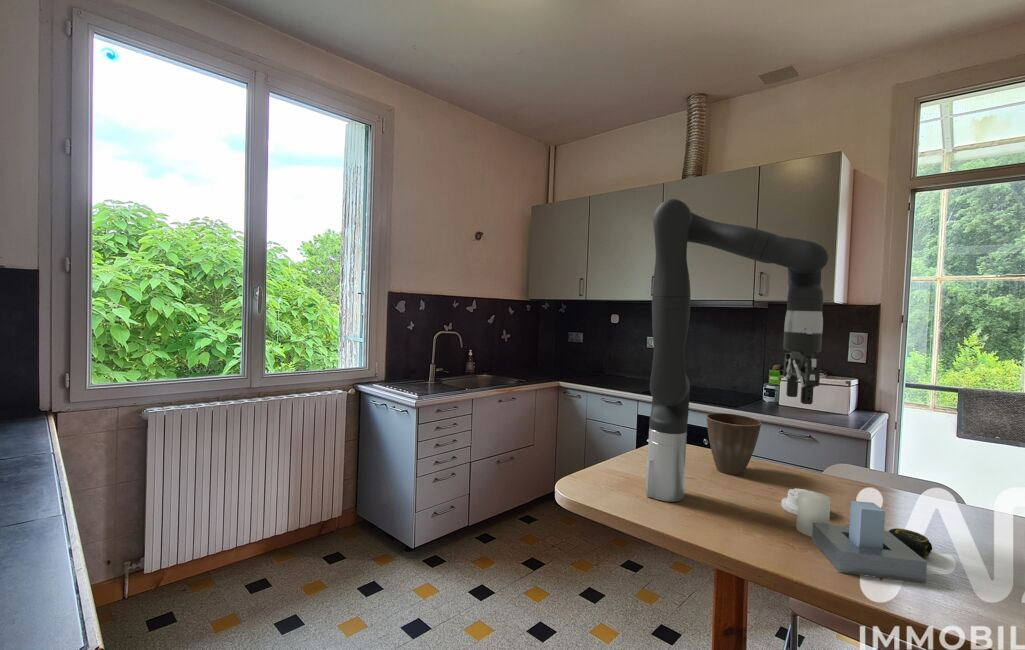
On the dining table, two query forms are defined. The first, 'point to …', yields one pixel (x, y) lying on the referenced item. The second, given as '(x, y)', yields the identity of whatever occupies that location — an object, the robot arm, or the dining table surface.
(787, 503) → the mechanical component
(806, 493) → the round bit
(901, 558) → the socket block
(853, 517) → the square bit
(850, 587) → the dining table surface
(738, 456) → the plant pot
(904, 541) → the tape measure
